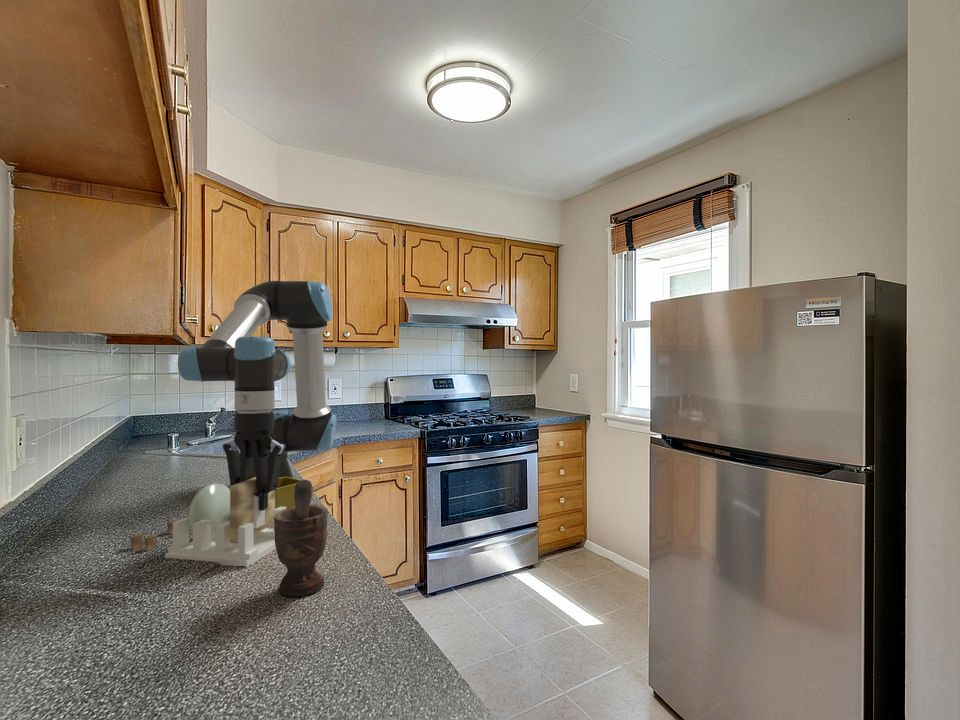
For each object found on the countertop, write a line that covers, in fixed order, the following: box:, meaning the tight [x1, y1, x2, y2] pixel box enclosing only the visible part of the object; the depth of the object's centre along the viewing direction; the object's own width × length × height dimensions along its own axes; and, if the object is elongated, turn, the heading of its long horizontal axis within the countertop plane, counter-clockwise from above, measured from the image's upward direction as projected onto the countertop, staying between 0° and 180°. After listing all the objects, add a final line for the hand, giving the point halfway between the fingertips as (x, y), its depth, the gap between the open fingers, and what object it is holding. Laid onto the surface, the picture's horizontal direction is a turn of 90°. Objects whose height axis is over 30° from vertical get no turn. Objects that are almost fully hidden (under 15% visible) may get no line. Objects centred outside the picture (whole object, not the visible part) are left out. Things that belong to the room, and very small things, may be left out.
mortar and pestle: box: [273, 479, 329, 597], centre depth 80 cm, size 12×9×20 cm
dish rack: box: [164, 506, 286, 568], centre depth 99 cm, size 15×18×7 cm
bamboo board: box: [229, 477, 275, 543], centre depth 98 cm, size 12×2×11 cm, turn 170°
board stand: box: [130, 519, 192, 552], centre depth 102 cm, size 11×4×3 cm, turn 170°
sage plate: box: [187, 482, 230, 538], centre depth 100 cm, size 11×1×11 cm, turn 170°
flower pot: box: [275, 477, 302, 509], centre depth 119 cm, size 9×9×9 cm
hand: (253, 525), depth 98 cm, fingers closed on bamboo board, 2 cm apart
